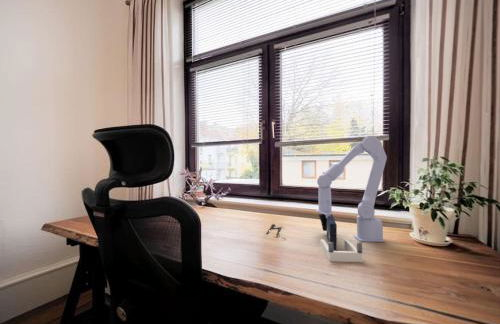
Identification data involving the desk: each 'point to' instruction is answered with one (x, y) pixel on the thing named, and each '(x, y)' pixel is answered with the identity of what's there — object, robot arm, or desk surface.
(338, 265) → the desk surface
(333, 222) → the vhs cassette tape
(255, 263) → the desk surface
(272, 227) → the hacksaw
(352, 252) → the rail dock
